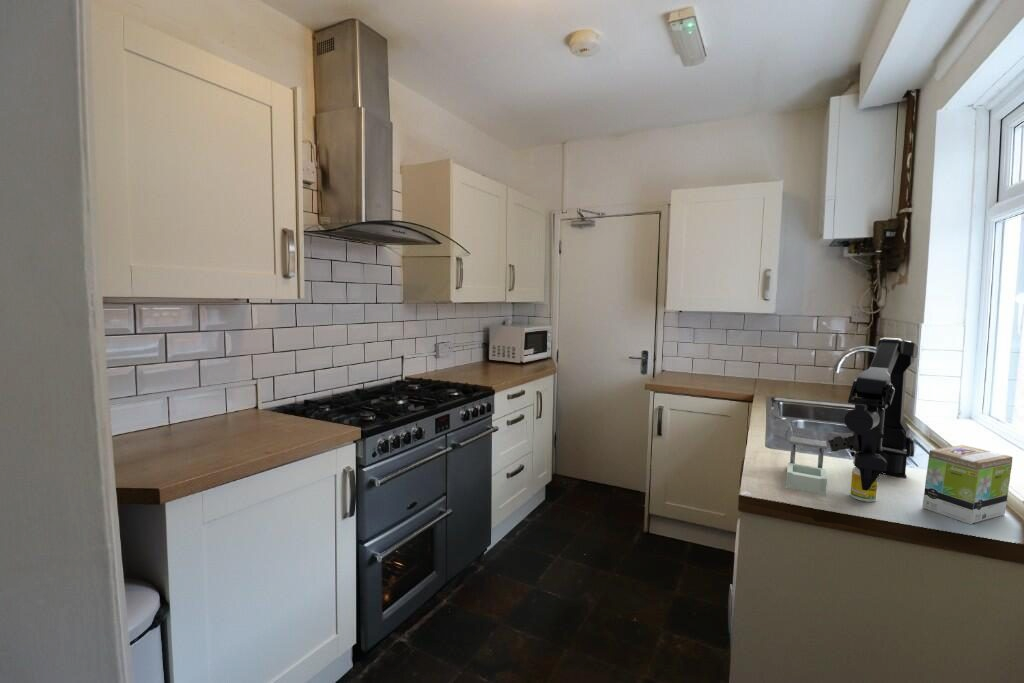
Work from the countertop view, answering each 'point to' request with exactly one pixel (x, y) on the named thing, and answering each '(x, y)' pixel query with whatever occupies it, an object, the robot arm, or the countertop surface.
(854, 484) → the supplement bottle
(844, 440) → the robot arm
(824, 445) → the grey frame
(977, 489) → the tea box
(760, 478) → the countertop surface
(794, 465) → the socket block
